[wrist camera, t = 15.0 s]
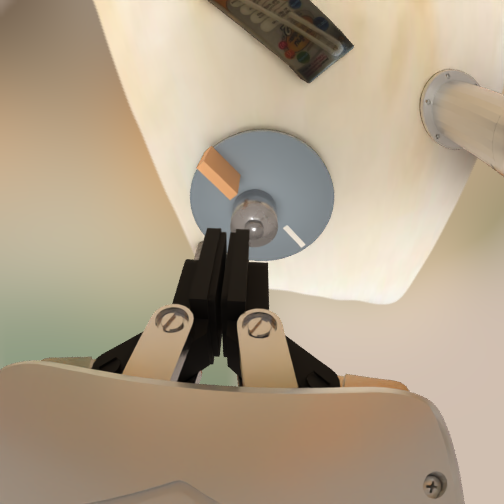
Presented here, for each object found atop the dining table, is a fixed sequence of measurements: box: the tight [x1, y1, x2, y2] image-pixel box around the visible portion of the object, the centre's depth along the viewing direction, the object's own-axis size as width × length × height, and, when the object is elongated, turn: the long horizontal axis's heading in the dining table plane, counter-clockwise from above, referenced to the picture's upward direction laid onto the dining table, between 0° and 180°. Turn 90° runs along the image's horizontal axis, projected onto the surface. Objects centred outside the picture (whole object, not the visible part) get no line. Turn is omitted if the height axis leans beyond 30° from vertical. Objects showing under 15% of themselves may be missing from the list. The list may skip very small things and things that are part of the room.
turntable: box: [190, 130, 334, 261], centre depth 41 cm, size 20×20×8 cm
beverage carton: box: [208, 0, 354, 83], centre depth 28 cm, size 8×19×7 cm, turn 46°
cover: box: [230, 189, 278, 247], centre depth 41 cm, size 6×6×6 cm
